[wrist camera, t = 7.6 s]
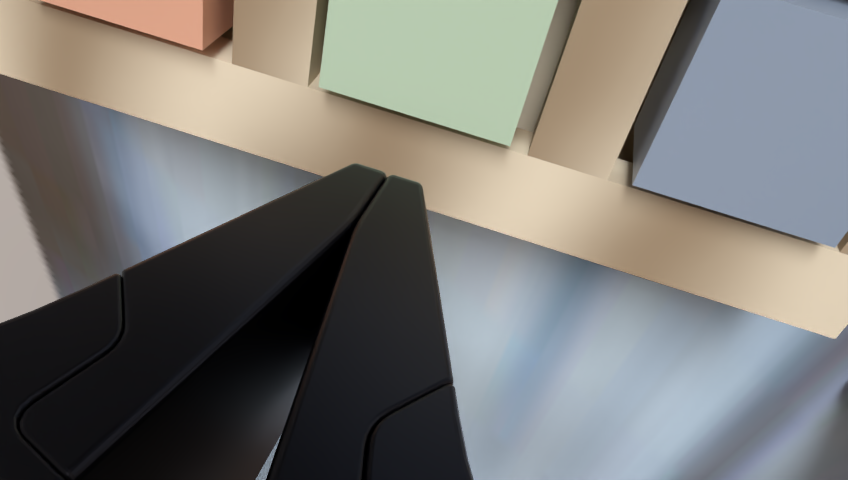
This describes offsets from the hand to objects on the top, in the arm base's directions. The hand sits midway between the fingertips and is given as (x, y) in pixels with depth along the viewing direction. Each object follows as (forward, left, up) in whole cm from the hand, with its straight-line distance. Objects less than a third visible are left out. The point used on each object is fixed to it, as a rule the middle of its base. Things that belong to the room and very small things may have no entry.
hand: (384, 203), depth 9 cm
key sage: (+1, 0, -8) cm, 8 cm away
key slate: (-5, -2, -8) cm, 10 cm away
